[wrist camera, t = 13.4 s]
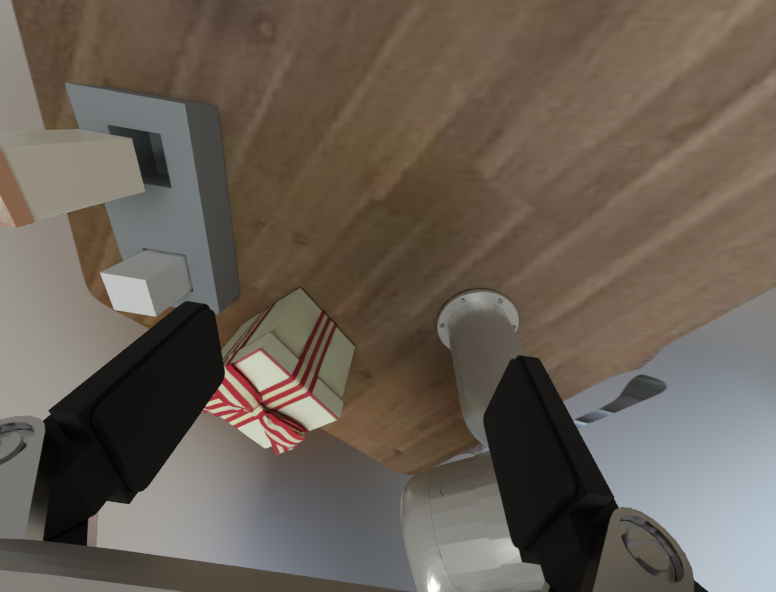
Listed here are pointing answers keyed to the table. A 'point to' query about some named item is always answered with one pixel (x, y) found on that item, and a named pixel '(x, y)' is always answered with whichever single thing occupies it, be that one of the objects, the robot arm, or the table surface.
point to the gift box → (283, 373)
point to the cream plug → (63, 172)
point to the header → (166, 201)
